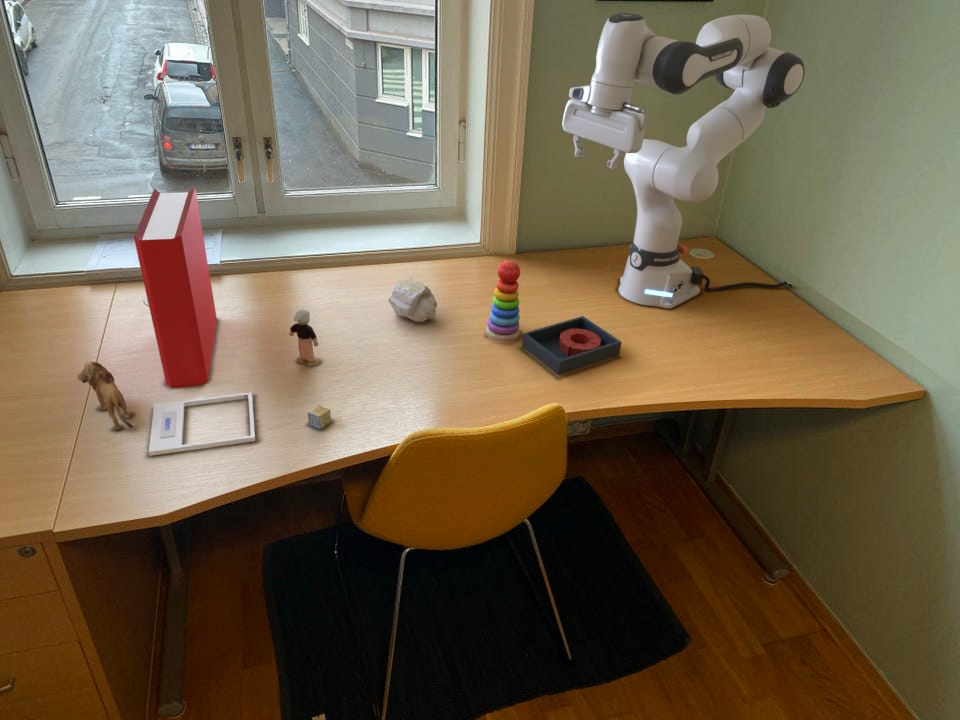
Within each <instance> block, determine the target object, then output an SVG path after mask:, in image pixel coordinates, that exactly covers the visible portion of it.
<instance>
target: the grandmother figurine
mask: <svg viewBox="0 0 960 720" xmlns="http://www.w3.org/2000/svg"><path fill="white" fill-rule="evenodd" d="M310 316H311V314H310V311H309V309H307V308H305V307H304V308H300V309H298V310H296V312H295V314H294V316H293V321H294V322H296V323H294V324H293V325H292V326H290V328H289V335H288V336H290V337H293V336H294V335H295V334H296V335H297V345H298V347H297V348H298V352H299V353H298V354H299V359H298V363H299V364H305V363H306V366H307V367H313V366H316V365H318V364H319V363H320V360H319V359H318V358H317V357H315V354H314V347H318V346H319V342H318V338H317V334H316V332H315V331H314V328H313V327H312V326H311V325H310V324H309V323H310V322H311V321H310V319H311V318H310ZM313 346H314V347H313Z"/></svg>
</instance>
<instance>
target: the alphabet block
mask: <svg viewBox="0 0 960 720" xmlns="http://www.w3.org/2000/svg"><path fill="white" fill-rule="evenodd" d="M307 421H308V425H309V426H311V427H314V428H316V429H318V430H321V429H323V428H325V427H326V426H327V425H328V424H330V423H332V415H331V409H330V408H328V407H326V406H323V405H320V404H317V405H316V406H315V407H312V408H311V409H310V410H308V411H307Z"/></svg>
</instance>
